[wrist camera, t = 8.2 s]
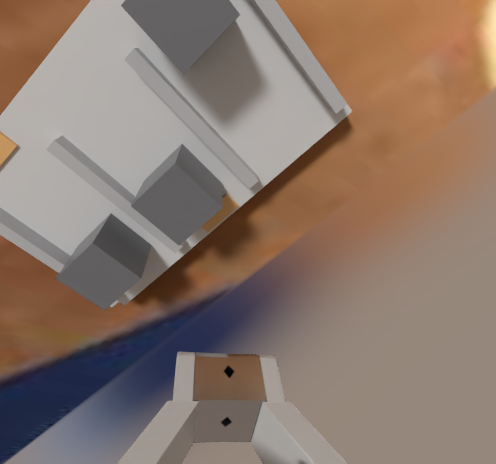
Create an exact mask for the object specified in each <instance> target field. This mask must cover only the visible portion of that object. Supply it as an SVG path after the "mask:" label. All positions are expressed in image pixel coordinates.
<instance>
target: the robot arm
mask: <svg viewBox="0 0 496 464" xmlns="http://www.w3.org/2000/svg"><path fill="white" fill-rule="evenodd" d="M198 442H199V443H200V442H251V445H252V447H253V448H254V450H255V452H256V453H257V455H258V456H259V458H260V460H261V461H262V463H263V464H347V463H346V462H345V461H344V459H343V458H341V456H340V455H339V454H338V453H337V452H336V451H335V450H334V449H333V448H332V446H331V445H330V444H329V443H328V442H327V441H326V440H325V439H324V438H323V437H322V436H321V435H320V433H319V432H318V431H317V430H316V429H315V428H314V427H313V426H312V425H311V424H310V423H309V421H308V420H307V419H306V418H305V417H304V416H303V415H302V414H301V413H300V412H299V410H298V409H296V407H295V406H294V405H293V404H292V403H291V402H286V400H285V396H284V391H283V387H282V382H281V378H280V374H279V369H278V365H277V361H276V357H275V356H274V355H256V354H214V353H198V352H195V353H192V352H178V354H177V363H176V373H175V382H174V392H173V401H167V402H166V404H165V405H164V406H163V407H162V409H161V410H160V411H159V412H158V414H157V415H156V416H155V418H154V419H153V420H152V421H151V422H150V424H149V425H148V426H147V427H146V429H145V430H144V431H143V432H142V434H141V435H140V436H139V437H138V438H137V440H136V441H135V442H134V443H133V445H132V446H131V447H130V448H129V450H128V451H127V452H126V453H125V455H124V456H123V457H122V458H121V460H120V461H119V462H118V463H117V464H182V462H183V461H184V459H185V457H186V455H187V454H188V452H189V450H190V448H191V447H192V445H193V443H198Z"/></svg>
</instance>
